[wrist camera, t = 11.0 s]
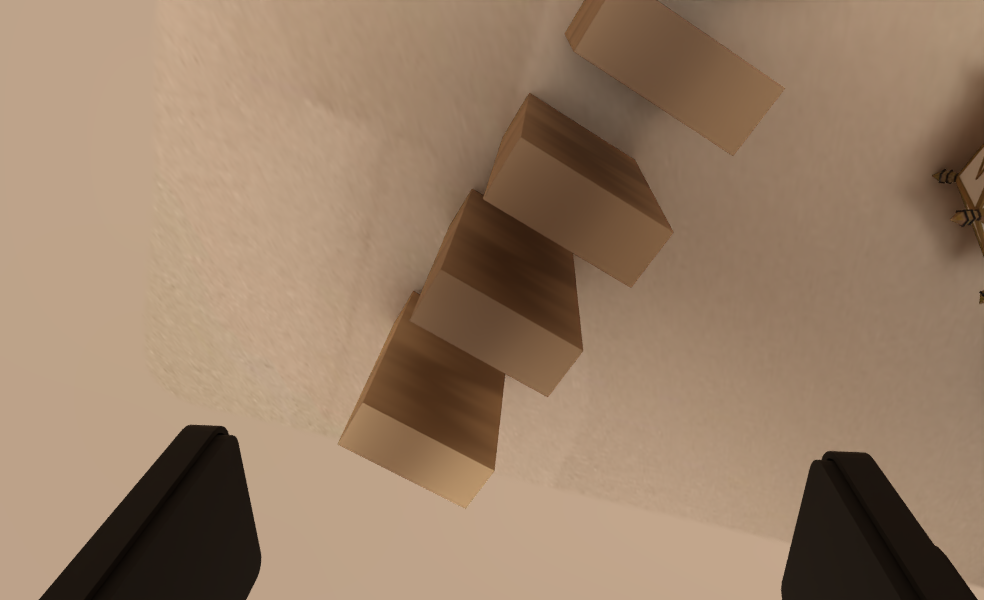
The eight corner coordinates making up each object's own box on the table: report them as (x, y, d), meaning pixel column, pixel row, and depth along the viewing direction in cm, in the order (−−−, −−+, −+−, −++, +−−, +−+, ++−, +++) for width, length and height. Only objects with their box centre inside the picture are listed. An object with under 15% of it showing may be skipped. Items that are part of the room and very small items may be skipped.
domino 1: (635, 159, 26) (673, 232, 18) (606, 200, 27) (630, 287, 19) (529, 92, 26) (520, 137, 18) (502, 137, 26) (482, 199, 18)
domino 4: (706, 58, 25) (784, 88, 17) (672, 105, 25) (732, 155, 17) (595, -18, 24) (620, -25, 16) (564, 33, 25) (573, 51, 17)
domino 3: (508, 343, 30) (494, 470, 22) (486, 375, 31) (465, 508, 23) (413, 291, 30) (362, 402, 21) (393, 324, 30) (337, 444, 22)
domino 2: (572, 248, 28) (583, 350, 20) (547, 285, 29) (547, 397, 21) (471, 188, 27) (440, 269, 19) (448, 227, 28) (409, 320, 20)
